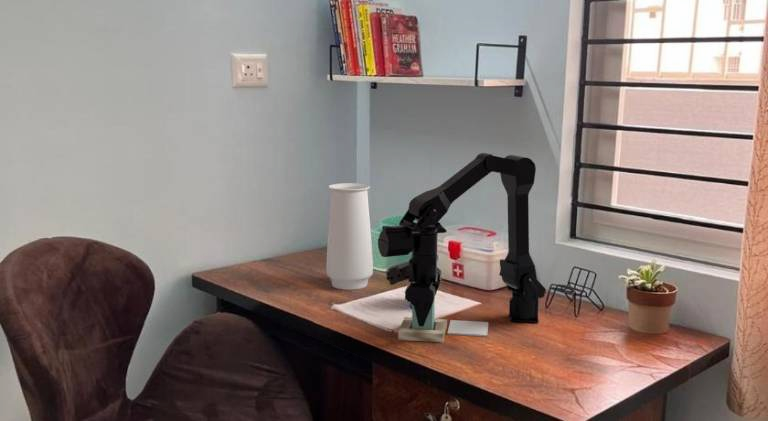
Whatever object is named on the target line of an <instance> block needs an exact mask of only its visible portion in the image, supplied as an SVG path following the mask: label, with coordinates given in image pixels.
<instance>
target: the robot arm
mask: <svg viewBox="0 0 768 421" xmlns="http://www.w3.org/2000/svg"><path fill="white" fill-rule="evenodd" d="M536 171H537V168H536V163H535V161H533V160H532V159H531V158H529V157H525V156H521V155H515V154H509V155H507V156H505V157H503V156H502V157H501V156H496V155H495V154H493V153H487V152H481V153H479V154H477V155H476V157H475V158H474V159H472V160H471V161H470V162H469V163H467V165H465V166H463V167H462V168H461V169H460V170H459V171H457V172H456V173H454V174H452V176H451V177H450V178H448V179H447V180H446V181H444V182H443V183H442V184H441V185H440V186H438V187H435V188H432V189H429V190H426V191H425V192H422V193H420V194H418V195H416V196H414V197H413V198H412V199H411V200H410V201H409V203H408V209H407V211H406V212H405V214H404V215H403V216H402V217H401V219H400V221H399V223H398V225H382V226H381V232H380V233H379V236H378V239H377V248H378V251H379V254H380V256H381V257H383V258H389V257H400V256H408V255H409V254H411V256H410V258H409V259H408V261H407V262H402V263H398V264H395V265H392V266H390V267H388V268H387V269H386V271H385V274H386V280H387V281H388V282H389V285H390V286H393V285H396V284H397V283H401V282H404V281H406V280H408V283H409V285H407V286H406V289H405V290H404V299H405V300H406V301H407V302H408V303H409V304H410V303H411V304H413V306H414V309H415V313H416V317H417V321H418V325H419V326H424V324H425V321H426V319H427V316H428V314H429V312H430V309H431V307H432V304H433V302H434V303H435V299H436V298H435V297H436V294H437V291H438V290H439V287H440V284H441V280H442V270H441V269H440V268H439V267H438V262H439V255H438V234H445V233H447V231H448V230H447V229H446V228H445V227H444V226H443V225H442V224H441V222H440V221H441V220H442V219H443V218H444V216H445V215H446V214H448V211H449V209H450V207H451V205H452V204H453V203H454V202H455V201H456V200H457V199H459V198H460V197H461V196H462V195H464V194H465V193H466V192H467V191H469V190H470V189H471V188H473V187H474V186H475V185H476V184H478V183H479V182H481V181H482V180H483V179H484V178H486V177H487V176H488V175H489V174H490V173H493V172H494V173H498V174H500V179H501V180H500V181H501V183H502V185H503V187H504V189H505V192H506V195H507V238H508V239H507V240H508V241H507V243H508V244H507V245H508V248H507V252H508V253H507V255H506V257H505V258H504V259H499V267H500V270H499V271H500V272H499V274H498V275H499V276H500V277H501V280H502V281H503V283H504V284H505V285H506V288H507V291H509V292H512V294H511V296H510V297H509V304H508V305H509V308H508V309H509V310H508V316H509V318H510V321H511V322H517V323H518V322H519V323H539V302H540V301H539V300H540V299H542V298H544V296H545V294H546V290H547V289H546V288H545V287H544V286H543V284H542V283H541V282H540V281H539V280H538V277H537V271H536V269H537V268H536V265H535V263H534V261H533V259H532V256H531V254H530V226H529V224H530V222H529V221H530V220H529V219H530V218H529V217H530V216H529V213H530V212H529V210H530V209H529V206H530V205H529V204H530V203H529V195H530V192H531V190H532V188H533V186H534V184H535V178H536ZM411 282H414V283H411Z"/></svg>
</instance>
